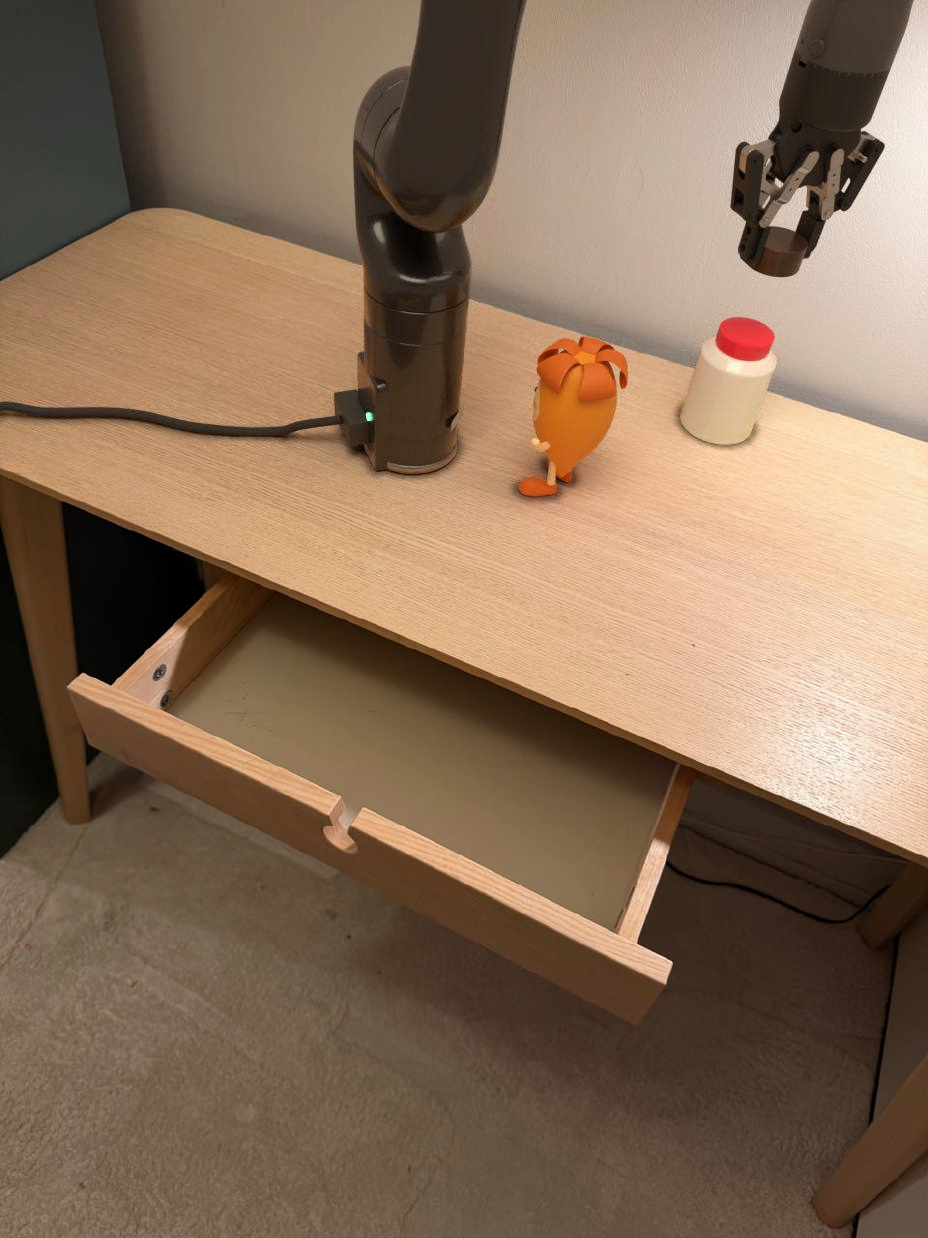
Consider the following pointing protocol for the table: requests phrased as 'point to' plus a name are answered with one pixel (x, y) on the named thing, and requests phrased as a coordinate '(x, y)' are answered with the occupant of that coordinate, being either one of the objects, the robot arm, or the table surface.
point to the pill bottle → (730, 382)
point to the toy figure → (572, 406)
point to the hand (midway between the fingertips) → (773, 257)
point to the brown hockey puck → (782, 253)
